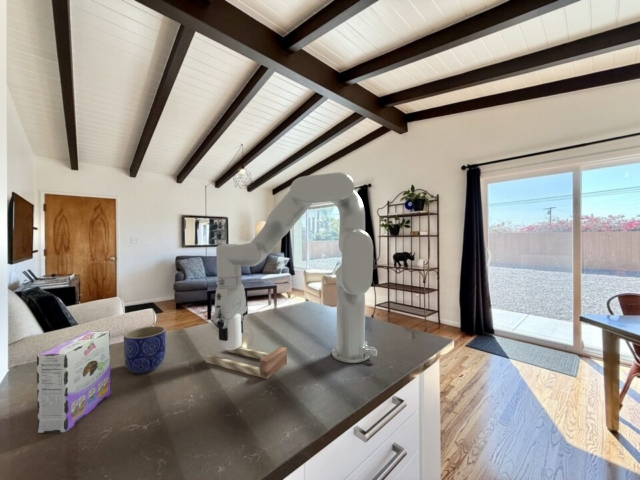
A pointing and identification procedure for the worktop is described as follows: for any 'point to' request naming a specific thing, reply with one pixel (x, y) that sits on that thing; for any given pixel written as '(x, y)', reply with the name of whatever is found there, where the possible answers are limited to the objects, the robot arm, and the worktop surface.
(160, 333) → the planter
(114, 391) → the worktop surface
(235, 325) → the can
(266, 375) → the rail channel
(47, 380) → the candy box
